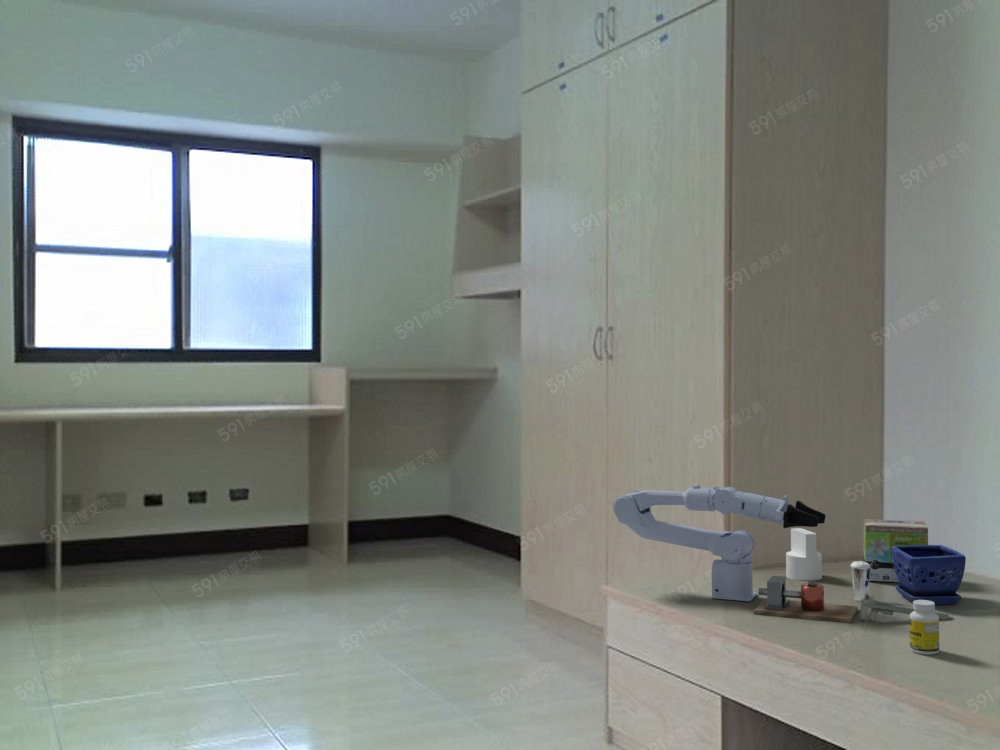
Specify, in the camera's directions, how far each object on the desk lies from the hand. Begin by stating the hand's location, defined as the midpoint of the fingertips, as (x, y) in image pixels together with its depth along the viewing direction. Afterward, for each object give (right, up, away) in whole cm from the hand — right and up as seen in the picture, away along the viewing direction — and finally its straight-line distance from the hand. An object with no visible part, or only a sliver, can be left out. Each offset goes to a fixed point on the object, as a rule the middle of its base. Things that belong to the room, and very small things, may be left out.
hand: (821, 520), depth 238 cm
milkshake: (+12, -20, +5) cm, 23 cm away
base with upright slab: (+5, -19, +31) cm, 37 cm away
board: (-5, -20, -4) cm, 21 cm away
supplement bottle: (+9, -21, -36) cm, 43 cm away
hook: (-8, -19, -3) cm, 21 cm away
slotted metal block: (-11, -19, -2) cm, 22 cm away
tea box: (+27, -19, +26) cm, 42 cm away
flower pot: (+26, -20, +4) cm, 33 cm away
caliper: (+15, -20, -13) cm, 28 cm away
